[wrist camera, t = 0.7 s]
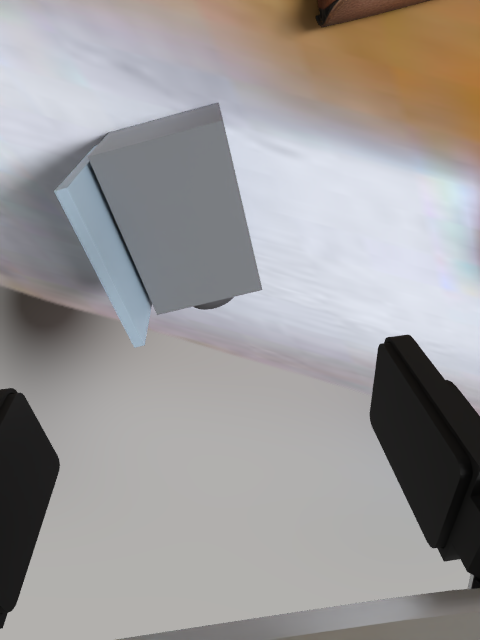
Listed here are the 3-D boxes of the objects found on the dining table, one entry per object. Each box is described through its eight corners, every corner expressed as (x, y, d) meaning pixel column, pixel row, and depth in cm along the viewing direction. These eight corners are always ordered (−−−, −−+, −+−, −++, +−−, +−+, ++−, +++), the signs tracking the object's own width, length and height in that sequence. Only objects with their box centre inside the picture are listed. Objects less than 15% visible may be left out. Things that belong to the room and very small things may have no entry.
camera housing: (108, 132, 32) (87, 156, 26) (218, 102, 31) (222, 120, 25) (168, 285, 40) (163, 329, 34) (256, 263, 40) (265, 305, 34)
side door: (94, 145, 32) (54, 191, 23) (104, 142, 31) (67, 187, 23) (149, 274, 39) (134, 347, 30) (157, 272, 39) (144, 345, 30)
